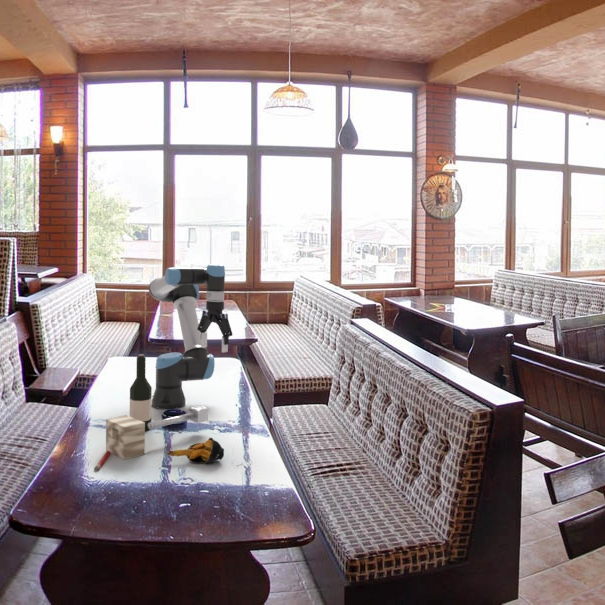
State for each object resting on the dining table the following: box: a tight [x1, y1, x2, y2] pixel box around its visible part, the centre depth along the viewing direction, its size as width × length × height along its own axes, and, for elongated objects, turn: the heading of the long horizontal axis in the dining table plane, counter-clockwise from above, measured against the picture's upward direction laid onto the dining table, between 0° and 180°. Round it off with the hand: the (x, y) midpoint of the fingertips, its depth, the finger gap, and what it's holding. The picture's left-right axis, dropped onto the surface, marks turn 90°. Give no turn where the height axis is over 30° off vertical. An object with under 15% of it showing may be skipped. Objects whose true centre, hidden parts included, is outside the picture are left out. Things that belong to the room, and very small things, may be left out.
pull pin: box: [148, 405, 209, 430], centre depth 237 cm, size 5×26×5 cm, turn 138°
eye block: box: [105, 414, 146, 461], centre depth 220 cm, size 12×9×12 cm
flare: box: [93, 451, 112, 472], centre depth 211 cm, size 2×15×2 cm, turn 3°
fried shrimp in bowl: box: [166, 437, 225, 464], centre depth 213 cm, size 9×11×18 cm
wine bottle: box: [129, 353, 153, 432], centre depth 246 cm, size 8×8×30 cm
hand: (214, 349), depth 267 cm, fingers open, 13 cm apart
